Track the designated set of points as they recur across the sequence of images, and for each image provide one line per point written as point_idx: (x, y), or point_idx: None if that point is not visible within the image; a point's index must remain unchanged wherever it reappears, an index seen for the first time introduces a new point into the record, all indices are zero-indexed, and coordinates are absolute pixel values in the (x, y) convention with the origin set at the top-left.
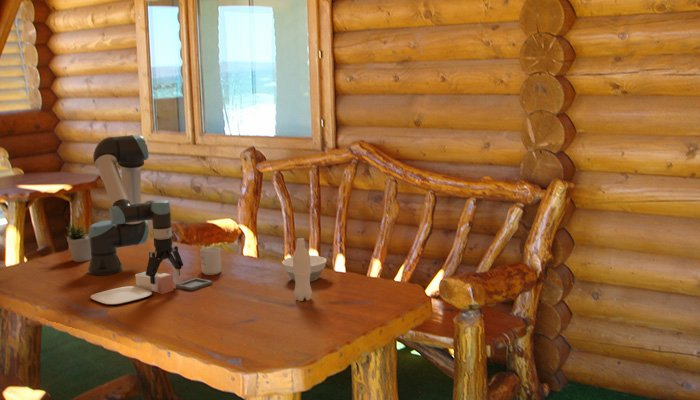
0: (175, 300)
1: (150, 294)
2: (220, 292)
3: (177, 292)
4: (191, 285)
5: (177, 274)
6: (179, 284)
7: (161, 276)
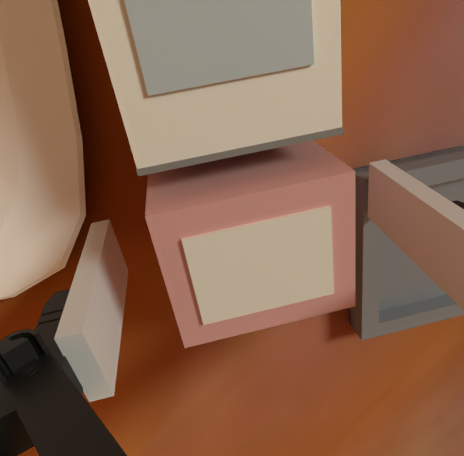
0: (161, 418)
1: (45, 276)
2: (411, 423)
3: None
4: None
5: (423, 270)
6: None
7: (211, 317)
